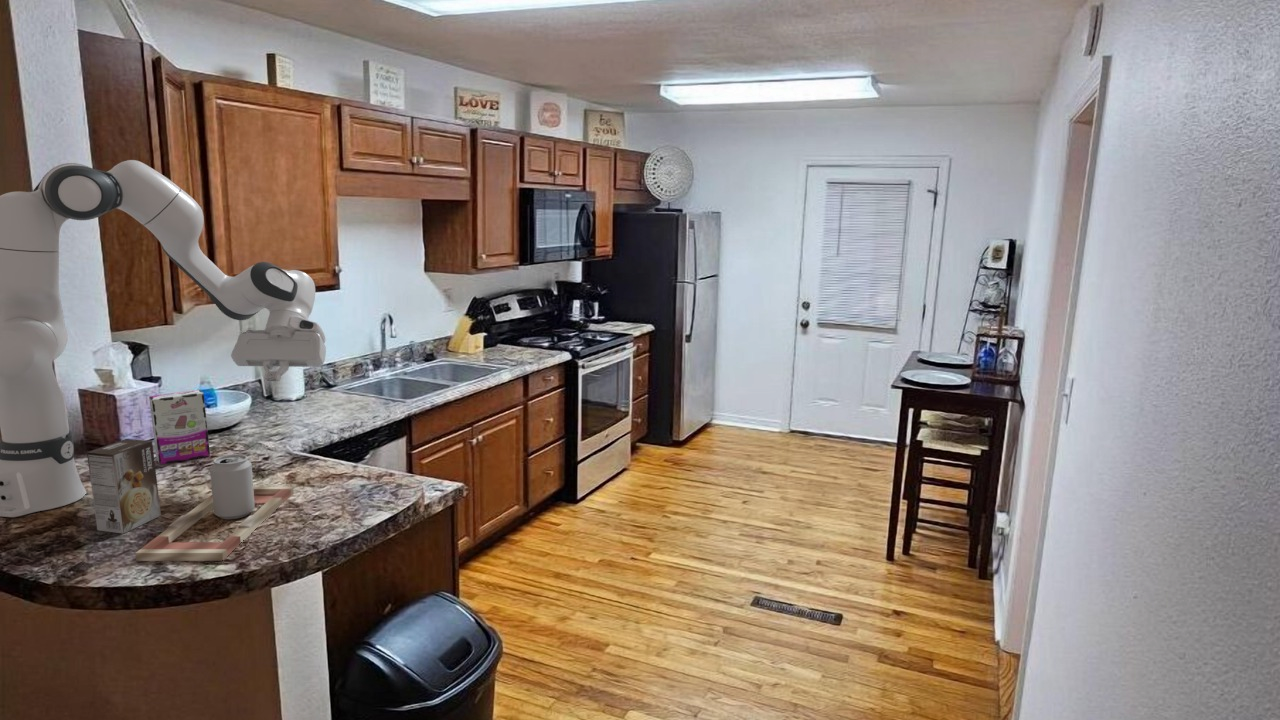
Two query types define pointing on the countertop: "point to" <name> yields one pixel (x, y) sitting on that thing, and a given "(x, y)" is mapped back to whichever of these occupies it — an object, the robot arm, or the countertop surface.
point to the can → (232, 486)
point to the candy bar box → (179, 426)
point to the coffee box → (124, 485)
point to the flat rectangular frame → (211, 551)
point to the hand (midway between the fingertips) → (271, 380)
